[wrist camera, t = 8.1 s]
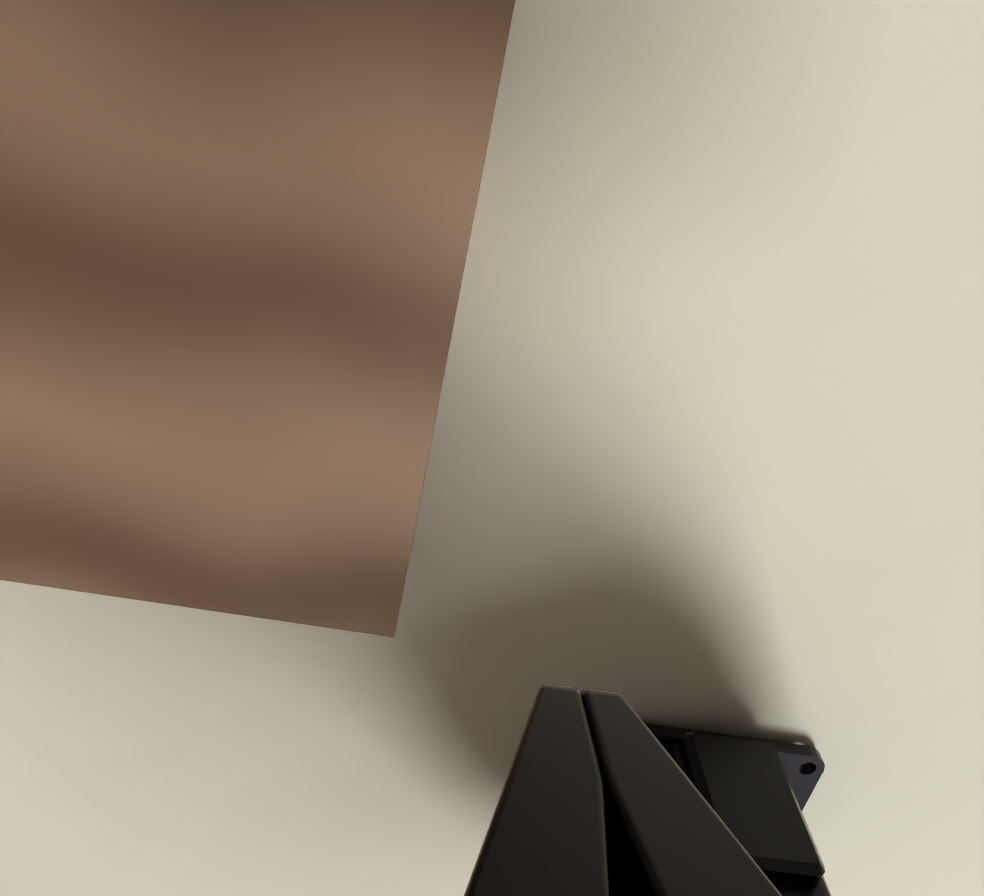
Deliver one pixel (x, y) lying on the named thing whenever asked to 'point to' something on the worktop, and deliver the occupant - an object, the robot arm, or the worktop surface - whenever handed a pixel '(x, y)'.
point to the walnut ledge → (232, 291)
